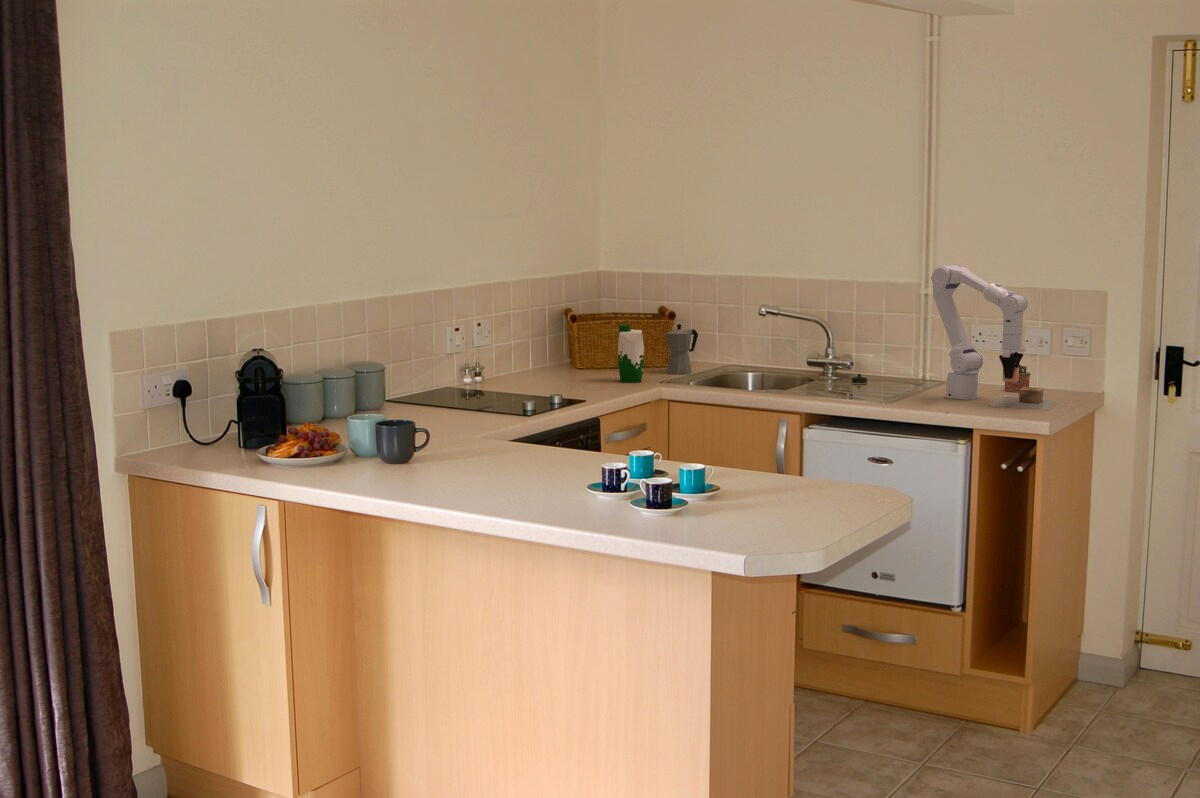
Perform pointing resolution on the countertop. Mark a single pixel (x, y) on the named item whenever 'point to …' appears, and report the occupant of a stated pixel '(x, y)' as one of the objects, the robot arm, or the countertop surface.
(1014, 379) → the top brick
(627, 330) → the milk carton
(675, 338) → the coffeepot
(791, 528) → the countertop surface
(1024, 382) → the lighter
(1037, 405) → the baseplate
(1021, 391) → the base brick
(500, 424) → the countertop surface
